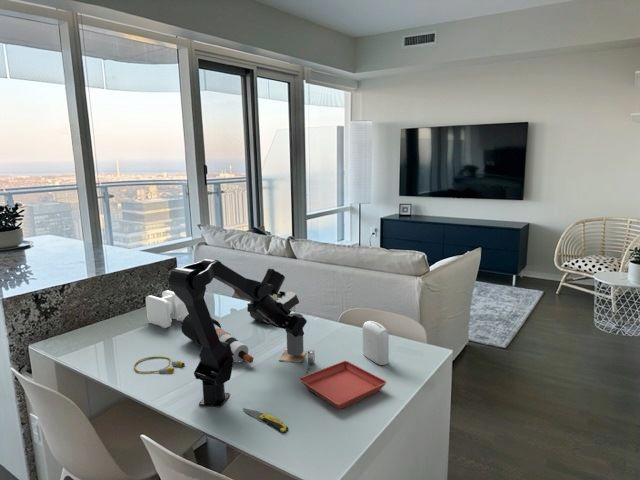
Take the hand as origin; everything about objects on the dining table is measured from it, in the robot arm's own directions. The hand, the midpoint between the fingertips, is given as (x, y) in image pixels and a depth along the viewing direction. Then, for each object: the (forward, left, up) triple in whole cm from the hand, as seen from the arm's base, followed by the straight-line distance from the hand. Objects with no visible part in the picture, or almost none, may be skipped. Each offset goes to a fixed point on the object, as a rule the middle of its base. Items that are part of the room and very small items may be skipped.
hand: (298, 332), depth 145 cm
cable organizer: (+23, +60, -9) cm, 65 cm away
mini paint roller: (-8, -5, -8) cm, 12 cm away
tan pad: (-1, +2, -8) cm, 9 cm away
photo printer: (+1, -25, -9) cm, 27 cm away
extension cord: (-14, +43, -9) cm, 47 cm away
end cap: (+29, +21, -9) cm, 37 cm away
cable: (-1, +27, -9) cm, 29 cm away
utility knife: (-37, +1, -9) cm, 38 cm away
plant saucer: (-19, -17, -9) cm, 27 cm away
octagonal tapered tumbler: (-1, +1, -7) cm, 7 cm away
